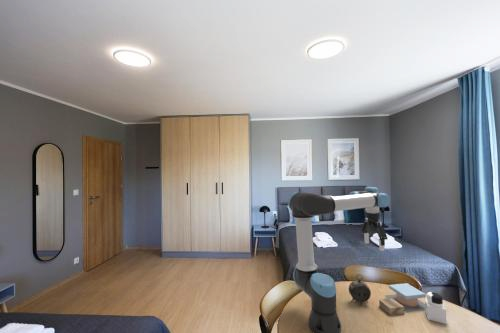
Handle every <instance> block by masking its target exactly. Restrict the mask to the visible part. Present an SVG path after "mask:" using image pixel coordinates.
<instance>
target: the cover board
mask: <svg viewBox="0 0 500 333" xmlns="http://www.w3.org/2000/svg"><path fill="white" fill-rule="evenodd" d="M388 289H389V290H391V291H393V292H394V293H395V294H396V293H397V294H399V295H400V296H401V297H403V298H404V299H416V298H418V299H422V298H425V299H426V298H427V293H424V292H423V291H421V290H420V289H418V288H416V287H414V286H412V284H409V283H407V282H405V283H396V284H389V285H388Z"/></svg>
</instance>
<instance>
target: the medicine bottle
mask: <svg viewBox="0 0 500 333" xmlns="http://www.w3.org/2000/svg"><path fill="white" fill-rule="evenodd" d="M443 299H444V298H443V296H442V295H441V294H439V293H437V292H434V291H429V292H427V293H426V298H425V299H424V304H425V309H426V310H425V314H426V317H427V319H428V320H430V321H434V322H437V323H441V324H444V325H445V324H446V325H447V324H448V321H447V308H446V307H445V305H444V302H443Z"/></svg>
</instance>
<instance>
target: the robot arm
mask: <svg viewBox="0 0 500 333" xmlns="http://www.w3.org/2000/svg"><path fill="white" fill-rule="evenodd" d="M390 199H391V198H390V196H389V195H388V194H387V193H383V192H379V188H377V186H375V187H374V186H367V187H365V188H364V190H357V191H356V190H355V191H351V192H349V194H347V195H333V196H332V195H331V194H318V193H313V192H306V191H296V192H293V193H292V194H291V195H290V196H289V198H288V201H287V206H288V208H289V209H290V210H291V215H292V218H293V219H294V221H295V231H296V232H295V233H296V245H297V246H296V248H297V263H296V265H295V268H294V270H293V273H292V278H293V281H294V283H295V285H297V287H298V288H300V290H302V291H303V292H304V293H305V294H306V295H307V296H308V297H309V298H310V302H311V303H310V304H311V310H310V313H309V316H308V320H307V321H308V322H307V323H308V328H309V330H310V331H311V332H312V333H313V332H314V333H342V324H341V320H340V318H339V315H338V312H337V311H338V310H337V287H336V282H335V280H334V279H333V277H331V275H329V274H324V273H321V272H318V271H319V268H318V265H317V264H316V263H315V255H314V254H315V253H314V252H315V250H314V240H313V238H314V237H313V226H312V219H313V218H314V217H317V216H324V215H332V214H334V213H335V212H342V211H349V210H357V209H365V217H364V219H363V223H362V226H361V231H362V232H363V240H364V244H367V245H368V244H370V233H369V231H370V229H372V228H373V229H374V230H375V232H376V234H377V236H378V238H379V239H378V243H379V244H378V247H379V251H380V252H384V251H385V250H386V249H385V245H386V244H385V243H386V240H389V239H388V236H387V233H386V229H385V228H384V224H383V222H382V221H379V220H380V218H381V214H380V208H387V207H389V205H390V203H391V200H390Z"/></svg>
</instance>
